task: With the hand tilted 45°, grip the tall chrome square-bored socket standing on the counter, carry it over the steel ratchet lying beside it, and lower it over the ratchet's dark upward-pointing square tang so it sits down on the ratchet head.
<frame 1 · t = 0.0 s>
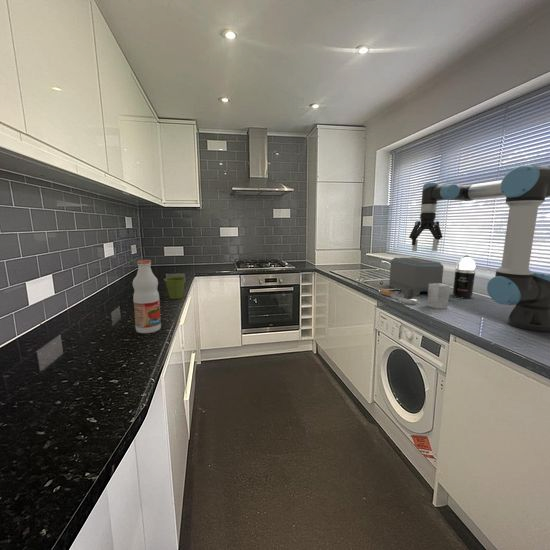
hand: (424, 251, 164), 28 cm above the worktop, tool pointing down, fingers open, 13 cm apart
fruit juice: (148, 330, 118), on the worktop
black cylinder: (462, 296, 177), on the worktop
toaster: (411, 290, 194), on the worktop
plant pot: (176, 298, 168), on the worktop
ratchet: (407, 302, 162), on the worktop
socket: (436, 306, 154), on the worktop
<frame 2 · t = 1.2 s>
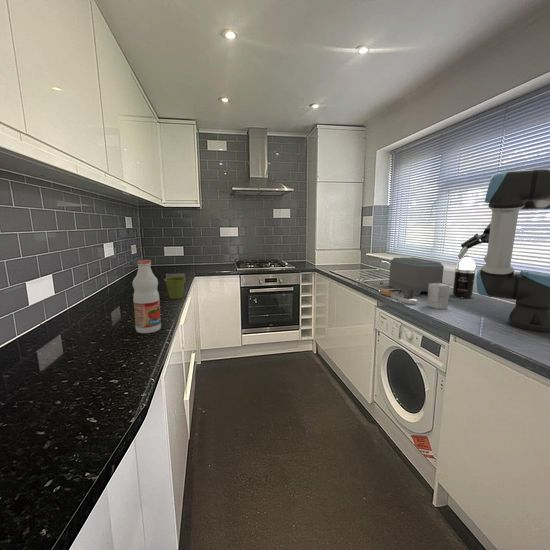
hand: (471, 258, 150), 26 cm above the worktop, tool tilted 45°, fingers open, 13 cm apart
nothing on the worktop moved.
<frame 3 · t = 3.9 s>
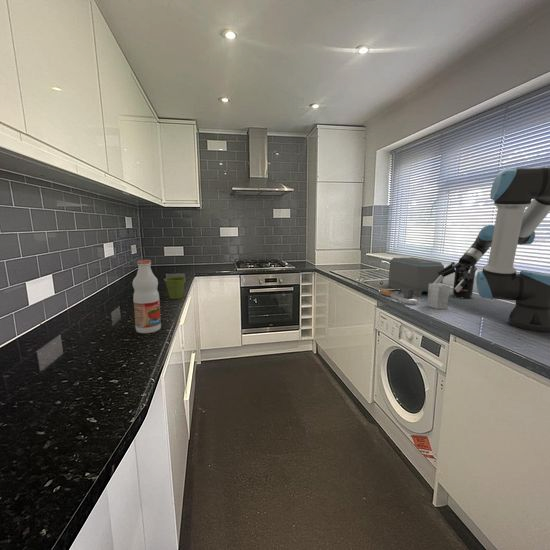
hand: (445, 287, 155), 10 cm above the worktop, tool tilted 45°, fingers open, 13 cm apart
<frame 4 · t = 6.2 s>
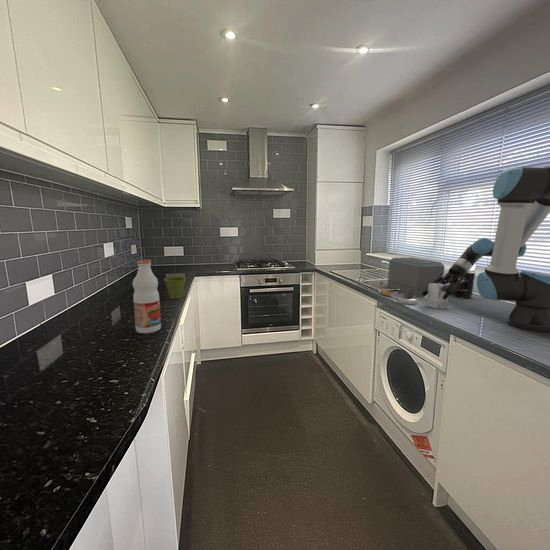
hand: (432, 300, 152), 4 cm above the worktop, tool tilted 45°, fingers closed on socket, 7 cm apart
socket: (436, 306, 154), on the worktop, touching gripper
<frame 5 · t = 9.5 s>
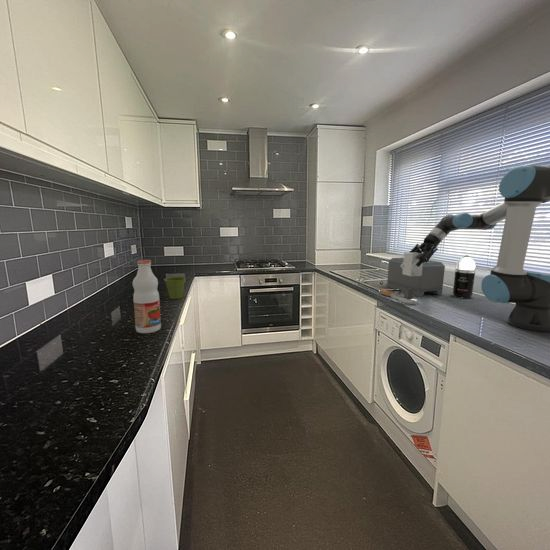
hand: (406, 268, 158), 19 cm above the worktop, tool tilted 45°, fingers closed on socket, 7 cm apart
socket: (411, 274, 160), point 16 cm above the worktop, touching gripper
when the fingers open (7 cm above the worktop, at t = 12.6 s): socket drops 1 cm, resting on ratchet.
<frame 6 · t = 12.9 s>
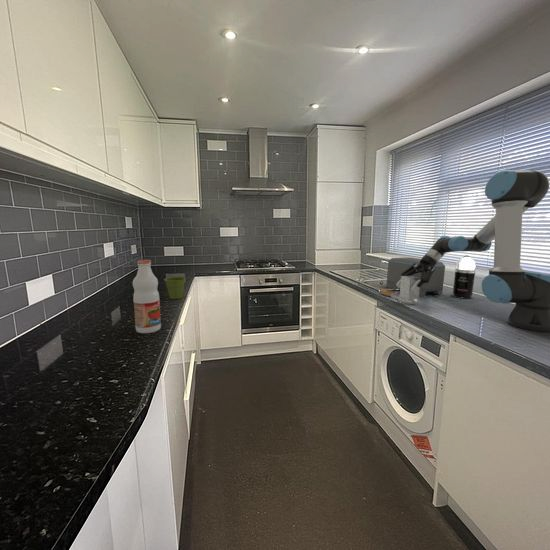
hand: (404, 288, 160), 8 cm above the worktop, tool tilted 45°, fingers open, 11 cm apart
socket: (408, 298, 161), point 3 cm above the worktop, touching ratchet
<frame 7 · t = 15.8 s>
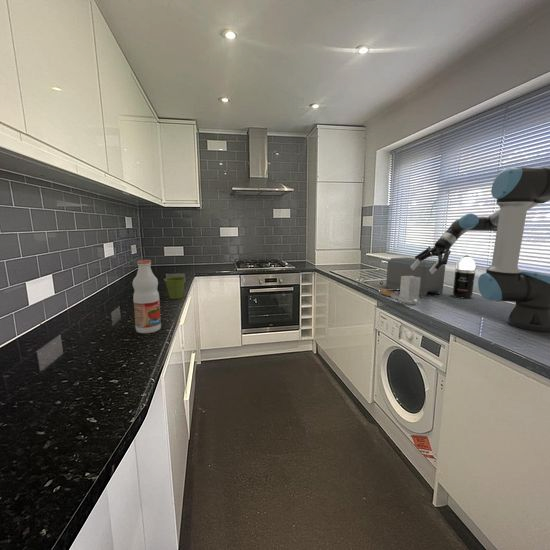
hand: (420, 270, 161), 18 cm above the worktop, tool tilted 45°, fingers open, 13 cm apart
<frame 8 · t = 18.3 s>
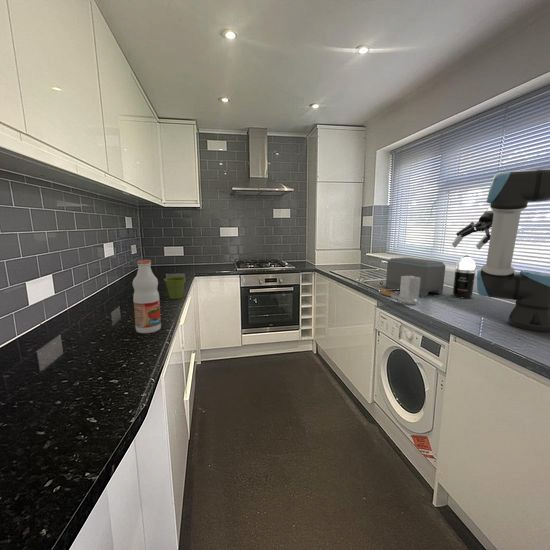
hand: (465, 246, 150), 32 cm above the worktop, tool tilted 45°, fingers open, 13 cm apart
at the end: socket 0.4 cm off-centre on the ratchet, point 2.5 cm above the ratchet's base; socket tilted 0°; the gripper is holding nothing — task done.
